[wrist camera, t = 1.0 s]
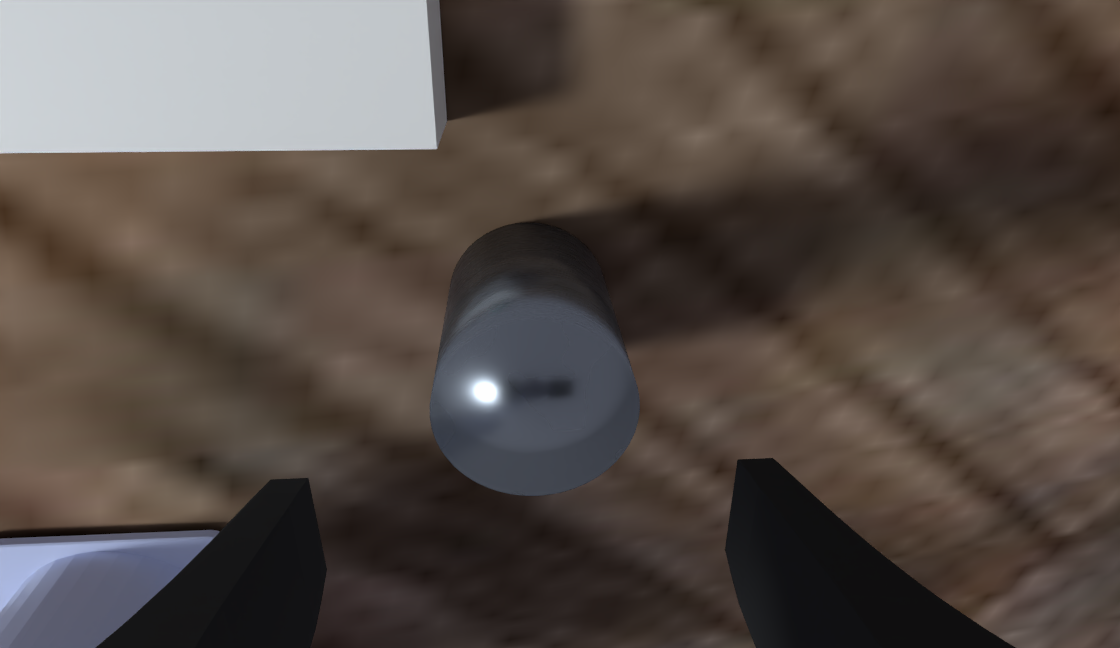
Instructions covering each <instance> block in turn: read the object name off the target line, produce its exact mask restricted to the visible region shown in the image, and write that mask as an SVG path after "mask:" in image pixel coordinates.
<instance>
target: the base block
mask: <svg viewBox="0 0 1120 648" xmlns="http://www.w3.org/2000/svg"><path fill="white" fill-rule="evenodd" d="M446 123H447V113H446V97H445V82H444V66H443V50H442V35H441V19H440V3H439V0H0V153H64V152H174V151H283V150H392V149H437V148H438V145H439V142H440V139H441V137H442V134H443V131H444V128H445V126H446Z"/></svg>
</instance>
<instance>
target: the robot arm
mask: <svg viewBox="0 0 1120 648" xmlns="http://www.w3.org/2000/svg"><path fill="white" fill-rule="evenodd" d="M725 551H726V555H727V559H728V563H729V567H730V571H731V575H732V579H733V583H734V587H735V590H736V594H737V598H738V601H739V605H740V608H741V610H742V613H743V616H744V618H745V621H746V623H747V626H748V629H749V631H750V634H751V636H752V639H753V641H754V644H755V646H756V648H1015V647H1014V646H1012V645H1010V644H1008V643H1007V642H1005V641H1004V640H1002V639H1001V638H999V637H997V636H996V635H994V634H993V633H991V632H989V631H988V630H986V629H985V628H983V627H981V626H980V625H979V624H977V623H976V622H974V621H973V620H971V619H970V618H968V617H967V616H965V615H964V614H962V613H961V612H959V611H958V610H956V609H955V608H953V607H952V606H950V605H949V604H947V603H946V602H945V601H943V600H942V599H940V598H939V597H937V596H936V595H935V594H933V593H932V592H930V591H929V590H928V589H926V588H925V587H924V586H922V585H921V584H919V583H918V582H917V581H916V580H914V579H913V578H912V577H910V576H909V575H908V574H907V573H905V572H904V571H903V570H901V569H900V568H899V567H897V566H896V565H895V564H894V563H892V562H891V561H890V560H888V559H887V558H886V557H885V556H883V555H882V554H881V553H880V552H879V551H877V550H876V549H875V548H874V547H872V546H871V545H870V544H869V543H868V542H866V541H865V540H864V539H863V538H862V537H860V536H859V535H858V534H857V533H856V532H855V531H853V530H852V529H851V528H850V527H849V526H848V525H846V524H845V523H844V522H843V521H842V520H841V519H840V518H838V517H837V516H836V515H835V514H834V513H833V512H832V511H831V510H829V509H828V508H827V507H826V506H825V505H824V504H823V503H822V502H821V501H819V500H818V499H817V498H816V497H815V496H814V495H813V494H812V493H811V492H810V491H808V490H807V489H806V488H805V487H804V486H803V485H802V484H801V483H800V482H799V481H798V480H796V479H795V478H794V477H793V476H792V475H791V474H790V473H789V472H788V471H787V470H786V469H784V468H783V467H782V466H781V465H780V464H779V463H778V462H777V461H775V460H774V459H773V458H765V459H742V460H738V461H737V468H736V475H735V482H734V490H733V497H732V504H731V511H730V518H729V525H728V533H727V540H726V547H725ZM326 571H327V568H326V563H325V559H324V554H323V549H322V544H321V539H320V534H319V529H318V524H317V519H316V514H315V509H314V504H313V499H312V494H311V489H310V484H309V479H308V478H298V479H275V480H270V481H269V482H268V483H267V484H266V485H265V486H264V487H263V488H262V489H261V490H260V491H259V492H258V493H257V494H256V495H255V496H254V497H253V498H252V499H251V500H250V501H249V502H248V503H247V504H246V505H245V506H244V507H243V508H242V509H241V510H240V511H239V513H238V514H237V515H236V516H235V517H234V518H233V519H232V520H231V521H230V522H229V523H228V524H227V525H226V526H225V527H224V528H223V529H222V530H221V531H217V530H195V531H171V532H147V533H123V534H99V535H75V536H50V537H26V538H2V539H0V648H310V645H311V642H312V639H313V635H314V632H315V629H316V624H317V619H318V614H319V609H320V604H321V599H322V594H323V588H324V582H325V577H326Z"/></svg>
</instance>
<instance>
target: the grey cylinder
mask: <svg viewBox="0 0 1120 648" xmlns="http://www.w3.org/2000/svg"><path fill="white" fill-rule="evenodd" d="M639 411H640V403H639V393H638V387H637V384H636V381H635V378H634V374H633V371H632V368H631V365H630V361H629V358H628V355H627V352H626V348H625V345H624V342H623V339H622V335H621V332H620V329H619V326H618V323H617V319H616V316H615V313H614V310H613V306H612V303H611V300H610V297H609V293H608V290H607V287H606V284H605V280H604V277H603V274H602V271H601V268H600V266H599V264H598V262H597V260H596V258H595V257H594V255H593V254H592V253H591V251H590V250H589V249H588V248H587V247H586V246H585V245H584V244H583V243H582V242H581V241H580V240H578V239H577V238H576V237H574V236H573V235H571V234H570V233H568V232H566V231H564V230H562V229H559V228H557V227H554V226H550V225H546V224H540V223H515V224H511V225H506V226H503V227H500V228H497V229H495V230H493V231H491V232H489V233H486V234H485V235H483V236H482V237H480V238H479V239H477V240H476V241H475V242H474V243H473V244H472V245H471V246H470V247H469V248H468V249H467V250H466V251H465V252H464V254H463V255H462V257H461V258H460V260H459V261H458V263H457V265H456V267H455V269H454V272H453V275H452V279H451V284H450V289H449V295H448V301H447V307H446V313H445V319H444V324H443V330H442V336H441V342H440V348H439V354H438V359H437V365H436V371H435V377H434V383H433V389H432V395H431V401H430V420H431V426H432V430H433V433H434V436H435V439H436V441H437V443H438V445H439V447H440V449H441V451H442V452H443V453H444V455H445V456H446V458H447V459H448V460H449V461H450V462H451V463H452V464H453V465H454V467H455V468H457V469H458V470H459V471H460V472H461V473H463V474H464V475H465V476H467V477H468V478H470V479H472V480H473V481H475V482H477V483H479V484H481V485H483V486H485V487H487V488H490V489H493V490H496V491H499V492H504V493H508V494H514V495H523V496H540V495H550V494H555V493H560V492H564V491H567V490H571V489H574V488H576V487H579V486H581V485H583V484H586V483H588V482H589V481H591V480H593V479H595V478H596V477H598V476H599V475H601V474H602V473H603V472H605V471H606V470H607V469H609V468H610V467H611V466H612V465H613V464H614V463H615V462H616V461H617V460H618V459H619V457H620V456H621V455H622V454H623V453H624V451H625V450H626V448H627V447H628V445H629V443H630V441H631V439H632V437H633V435H634V433H635V430H636V426H637V423H638V418H639Z"/></svg>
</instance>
